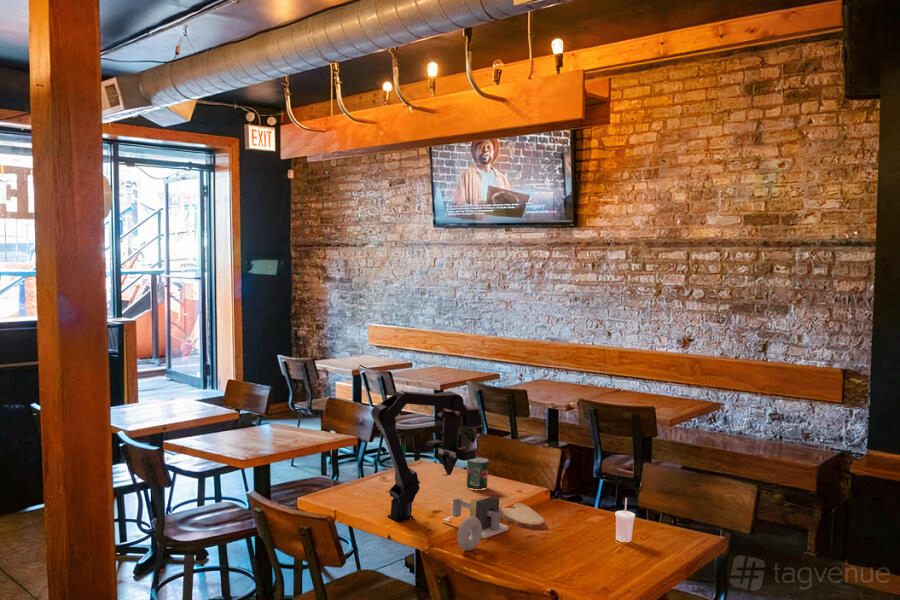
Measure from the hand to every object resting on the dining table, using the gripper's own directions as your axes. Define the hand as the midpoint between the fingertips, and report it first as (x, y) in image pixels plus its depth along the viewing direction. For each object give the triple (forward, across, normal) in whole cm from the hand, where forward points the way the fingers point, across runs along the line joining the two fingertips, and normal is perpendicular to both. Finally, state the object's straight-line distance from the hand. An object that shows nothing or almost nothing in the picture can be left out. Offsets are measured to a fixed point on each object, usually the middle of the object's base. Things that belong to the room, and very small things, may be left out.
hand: (449, 474), depth 258 cm
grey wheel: (+13, -27, +19) cm, 36 cm away
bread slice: (+14, -20, -16) cm, 29 cm away
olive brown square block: (+11, -17, +2) cm, 20 cm away
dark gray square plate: (+11, -20, +3) cm, 23 cm away
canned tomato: (+13, +12, -29) cm, 34 cm away
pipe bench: (+13, -15, +3) cm, 20 cm away
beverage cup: (+13, -54, -24) cm, 61 cm away
